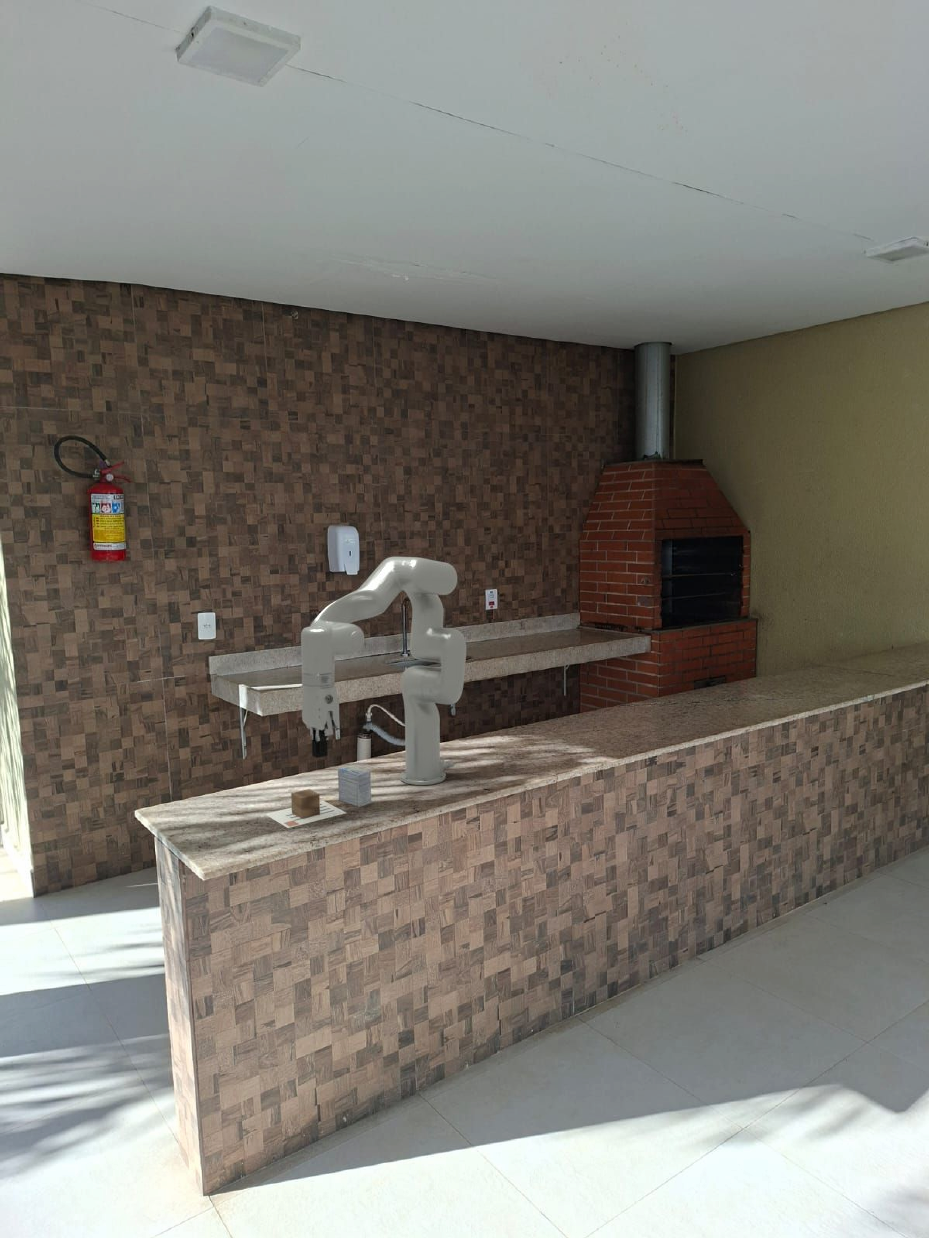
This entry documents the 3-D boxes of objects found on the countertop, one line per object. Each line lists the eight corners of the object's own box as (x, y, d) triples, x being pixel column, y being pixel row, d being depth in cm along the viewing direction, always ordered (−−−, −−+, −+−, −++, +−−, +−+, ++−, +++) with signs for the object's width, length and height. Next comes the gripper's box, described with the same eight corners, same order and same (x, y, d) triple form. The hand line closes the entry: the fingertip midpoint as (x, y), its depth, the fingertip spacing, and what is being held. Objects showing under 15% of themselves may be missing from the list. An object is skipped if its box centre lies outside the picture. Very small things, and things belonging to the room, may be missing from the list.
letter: (322, 801, 224) (322, 800, 224) (346, 814, 215) (346, 812, 215) (264, 815, 214) (264, 813, 214) (287, 829, 205) (287, 827, 205)
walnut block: (310, 808, 218) (309, 789, 217) (319, 813, 214) (319, 794, 213) (291, 812, 215) (291, 793, 214) (301, 818, 211) (301, 798, 210)
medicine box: (371, 803, 222) (371, 770, 221) (358, 808, 219) (358, 774, 218) (351, 797, 227) (350, 764, 226) (338, 801, 224) (337, 768, 223)
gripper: (349, 682, 200) (350, 760, 202) (316, 673, 212) (318, 746, 214) (320, 686, 195) (321, 766, 198) (288, 676, 207) (290, 752, 209)
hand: (319, 755), depth 206 cm, fingers closed
